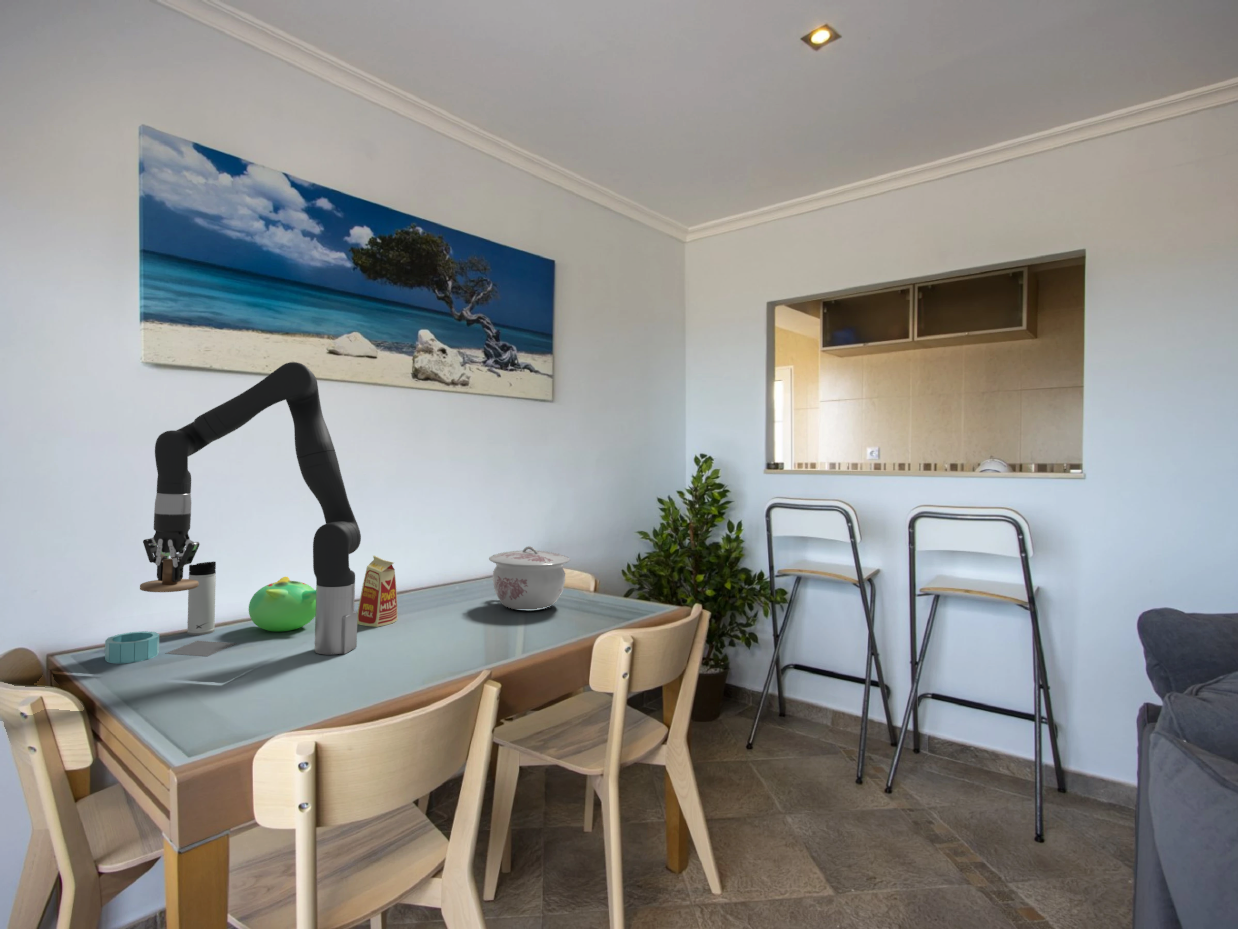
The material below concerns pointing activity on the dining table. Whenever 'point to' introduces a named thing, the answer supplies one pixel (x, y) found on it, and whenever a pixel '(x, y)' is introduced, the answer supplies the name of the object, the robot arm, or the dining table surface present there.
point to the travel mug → (202, 599)
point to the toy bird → (283, 605)
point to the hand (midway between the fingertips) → (169, 580)
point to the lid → (168, 581)
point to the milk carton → (378, 595)
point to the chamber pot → (528, 578)
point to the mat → (201, 648)
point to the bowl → (131, 647)
